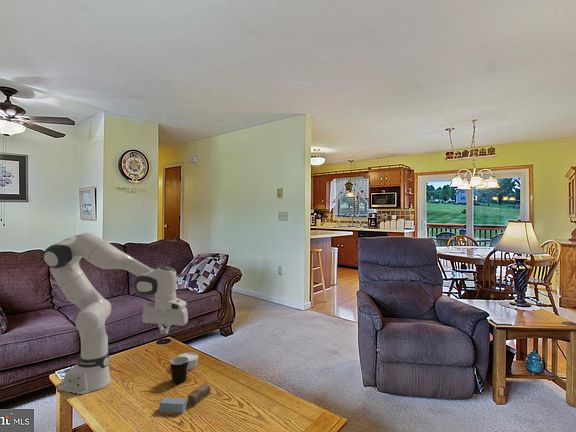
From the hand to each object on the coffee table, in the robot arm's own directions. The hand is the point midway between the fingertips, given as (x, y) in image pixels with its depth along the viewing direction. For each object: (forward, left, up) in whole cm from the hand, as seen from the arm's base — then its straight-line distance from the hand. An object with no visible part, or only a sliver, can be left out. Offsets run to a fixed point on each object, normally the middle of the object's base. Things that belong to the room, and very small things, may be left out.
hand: (164, 333), depth 145 cm
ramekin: (-1, +28, -29) cm, 40 cm away
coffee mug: (+1, +15, -29) cm, 32 cm away
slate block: (+4, -9, -27) cm, 28 cm away
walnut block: (+15, -5, -27) cm, 31 cm away
